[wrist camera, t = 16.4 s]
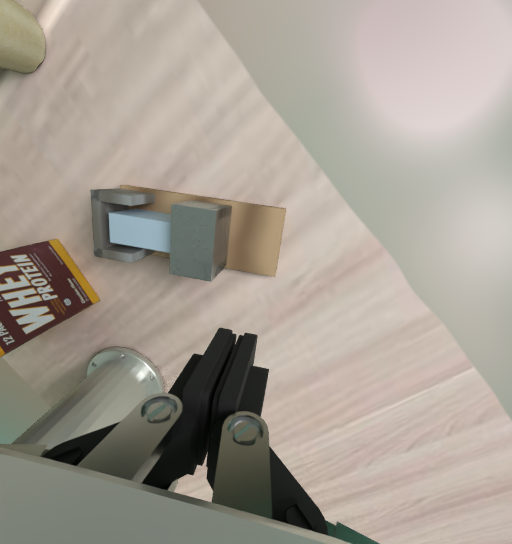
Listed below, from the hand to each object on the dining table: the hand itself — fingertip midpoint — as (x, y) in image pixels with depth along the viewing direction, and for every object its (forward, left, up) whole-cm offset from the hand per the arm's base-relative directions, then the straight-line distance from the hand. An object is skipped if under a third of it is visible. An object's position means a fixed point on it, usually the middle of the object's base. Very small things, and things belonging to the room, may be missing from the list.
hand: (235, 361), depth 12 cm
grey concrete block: (0, +9, -22) cm, 23 cm away
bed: (0, +10, -23) cm, 25 cm away
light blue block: (0, +13, -22) cm, 26 cm away
